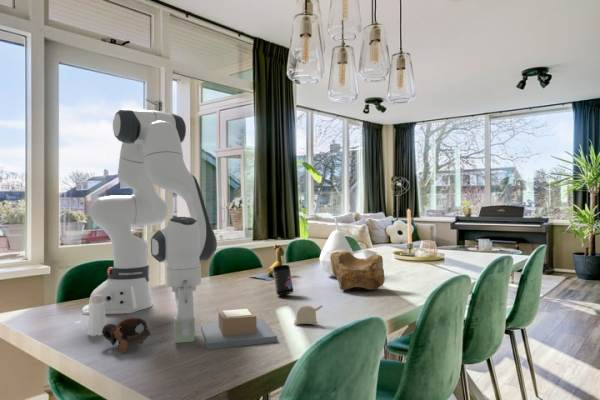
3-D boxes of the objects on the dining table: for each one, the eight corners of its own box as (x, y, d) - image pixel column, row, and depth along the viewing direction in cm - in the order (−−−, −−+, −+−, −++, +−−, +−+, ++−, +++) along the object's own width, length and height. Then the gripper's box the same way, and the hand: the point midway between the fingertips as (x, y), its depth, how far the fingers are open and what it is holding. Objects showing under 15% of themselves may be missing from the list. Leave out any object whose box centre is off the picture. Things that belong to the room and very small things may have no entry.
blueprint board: (207, 349, 107) (206, 324, 107) (201, 329, 125) (200, 307, 125) (277, 341, 113) (276, 318, 113) (262, 323, 130) (261, 302, 130)
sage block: (174, 343, 112) (174, 320, 112) (174, 338, 117) (174, 315, 117) (194, 341, 114) (194, 318, 114) (193, 336, 119) (193, 314, 119)
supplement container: (284, 291, 161) (280, 264, 165) (272, 295, 165) (269, 269, 169) (297, 291, 166) (293, 265, 170) (285, 296, 170) (281, 270, 174)
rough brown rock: (319, 291, 175) (318, 254, 175) (334, 284, 190) (334, 250, 190) (375, 296, 165) (374, 257, 165) (386, 288, 180) (386, 252, 180)
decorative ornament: (294, 320, 131) (295, 303, 131) (322, 321, 131) (322, 304, 131) (293, 324, 127) (294, 306, 127) (322, 325, 127) (322, 307, 127)
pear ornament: (314, 278, 202) (313, 219, 202) (332, 271, 222) (332, 217, 223) (347, 281, 195) (346, 219, 195) (363, 273, 215) (362, 217, 215)
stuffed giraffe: (297, 276, 211) (297, 244, 211) (273, 282, 196) (273, 247, 196) (273, 273, 220) (272, 242, 220) (248, 279, 206) (247, 245, 206)
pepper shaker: (83, 334, 121) (83, 294, 121) (103, 330, 125) (103, 291, 125) (90, 338, 117) (90, 297, 117) (111, 334, 121) (110, 294, 121)
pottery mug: (153, 340, 115) (155, 317, 112) (141, 368, 107) (143, 344, 103) (107, 332, 114) (108, 308, 111) (91, 359, 106) (92, 335, 102)
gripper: (199, 283, 106) (199, 340, 106) (193, 271, 126) (194, 319, 126) (172, 285, 105) (173, 342, 104) (171, 272, 124) (171, 321, 124)
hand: (184, 329), depth 115 cm, fingers open, 8 cm apart
